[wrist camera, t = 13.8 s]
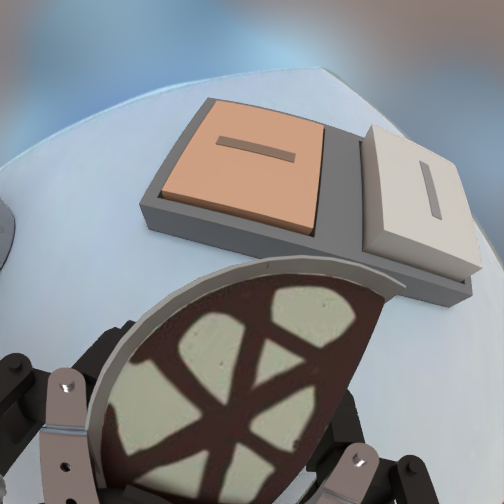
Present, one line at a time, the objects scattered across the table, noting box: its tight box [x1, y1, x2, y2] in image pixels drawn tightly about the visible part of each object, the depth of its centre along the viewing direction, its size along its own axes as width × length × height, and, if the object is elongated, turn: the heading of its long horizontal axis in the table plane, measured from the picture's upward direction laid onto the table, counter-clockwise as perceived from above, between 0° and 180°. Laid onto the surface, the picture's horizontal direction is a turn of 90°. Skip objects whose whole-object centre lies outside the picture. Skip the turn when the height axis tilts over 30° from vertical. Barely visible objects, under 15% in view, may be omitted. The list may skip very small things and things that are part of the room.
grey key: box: [360, 124, 483, 283], centre depth 19 cm, size 10×12×3 cm
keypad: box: [139, 98, 473, 307], centre depth 21 cm, size 27×14×3 cm, turn 77°
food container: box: [85, 255, 406, 504], centre depth 9 cm, size 12×6×10 cm, turn 147°
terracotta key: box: [162, 100, 324, 236], centre depth 21 cm, size 10×12×3 cm
